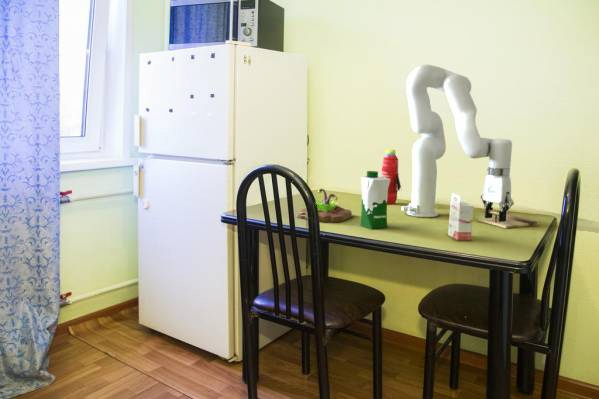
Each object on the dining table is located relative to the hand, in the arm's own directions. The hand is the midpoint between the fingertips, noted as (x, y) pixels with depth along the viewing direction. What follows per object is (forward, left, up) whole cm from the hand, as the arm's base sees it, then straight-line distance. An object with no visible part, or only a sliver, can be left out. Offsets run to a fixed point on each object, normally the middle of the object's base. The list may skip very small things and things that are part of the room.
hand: (495, 219), depth 190 cm
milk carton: (-46, +13, -2) cm, 47 cm away
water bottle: (-13, +51, -2) cm, 53 cm away
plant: (-55, +35, -2) cm, 65 cm away
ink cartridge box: (-28, -12, -2) cm, 30 cm away
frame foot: (+12, 0, -2) cm, 13 cm away
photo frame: (+4, 0, -2) cm, 5 cm away
